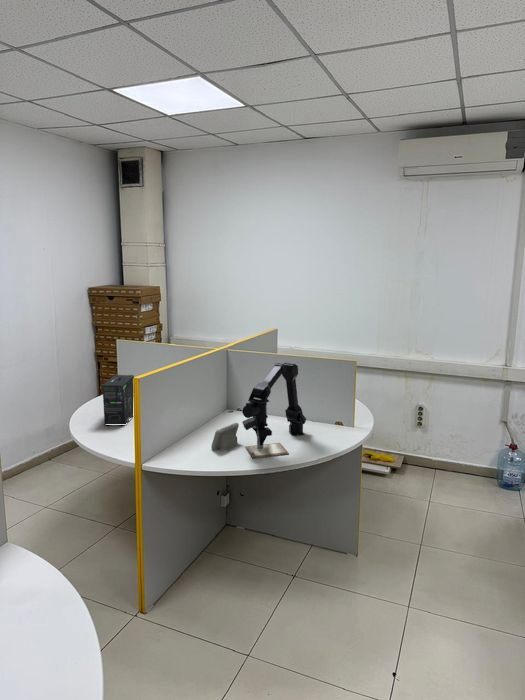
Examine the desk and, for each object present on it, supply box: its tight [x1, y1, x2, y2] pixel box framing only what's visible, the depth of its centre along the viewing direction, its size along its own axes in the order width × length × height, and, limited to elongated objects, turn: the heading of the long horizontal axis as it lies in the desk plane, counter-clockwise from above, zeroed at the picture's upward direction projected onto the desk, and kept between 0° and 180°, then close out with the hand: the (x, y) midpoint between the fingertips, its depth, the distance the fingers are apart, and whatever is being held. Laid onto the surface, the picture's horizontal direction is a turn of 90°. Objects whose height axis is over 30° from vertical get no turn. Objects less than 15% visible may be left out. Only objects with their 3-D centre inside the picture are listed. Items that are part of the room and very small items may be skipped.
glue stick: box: [256, 429, 263, 449], centre depth 230 cm, size 3×3×9 cm
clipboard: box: [244, 442, 290, 459], centre depth 232 cm, size 18×14×2 cm
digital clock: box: [211, 422, 239, 451], centre depth 237 cm, size 16×9×11 cm, turn 131°
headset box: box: [101, 374, 135, 425], centre depth 275 cm, size 22×12×26 cm, turn 179°
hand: (260, 444), depth 231 cm, fingers closed on glue stick, 3 cm apart
